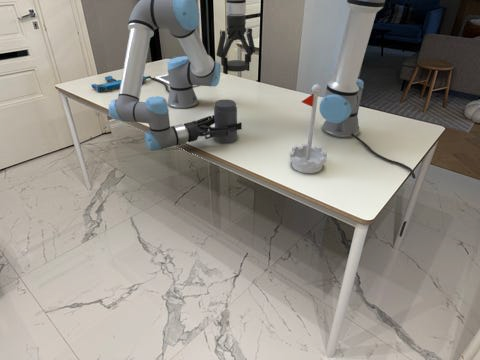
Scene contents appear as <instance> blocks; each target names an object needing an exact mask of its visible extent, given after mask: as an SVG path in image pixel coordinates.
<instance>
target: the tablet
mask: <svg viewBox="0 0 480 360" xmlns="http://www.w3.org/2000/svg"><path fill="white" fill-rule="evenodd" d="M153 78H154V79H157V80H159V81H162V82H164V83H165V84H166V85H168V86H170V83H169V75H168V73H167V74H163V75H157V76H154V77H153ZM198 86H200V85H193V88H195V87H198Z"/></svg>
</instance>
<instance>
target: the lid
mask: <svg viewBox="0 0 480 360" xmlns="http://www.w3.org/2000/svg"><path fill="white" fill-rule="evenodd" d="M227 64H228V72H234V73H235V72H237V73H238V72H245V71H247V69H248V62H246V61H245V60H240V59H239V60H238V59H232V60H227Z"/></svg>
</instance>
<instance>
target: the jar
mask: <svg viewBox="0 0 480 360" xmlns="http://www.w3.org/2000/svg"><path fill="white" fill-rule="evenodd" d="M213 105H214V107H213V115H214V127H227V126H228V125H232V124H236V123H238V106H237V103H236V101H234V100H232V99H219V100H217V101H215V102H214V104H213ZM214 140H215V141H216V142H218V143H222V144H231V143H234V142H236V141H237V140H238V130H237V131H233V132H229V136H223V137H215V138H214Z"/></svg>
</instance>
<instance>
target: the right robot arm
mask: <svg viewBox="0 0 480 360" xmlns="http://www.w3.org/2000/svg"><path fill="white" fill-rule="evenodd" d="M246 2H247V0H226V29H225V30H222V29H220V30H219V40H218V45H217V49H216V55H215V56H217V57H219V58H220V66H222V74H224V75H228V72H229V71H228V64H227V61H228V58H227V56H228V53H229V50H230V48H231V46H232V44H233V42H234V41H237V40H238V41H240V43H241V44H242V46H243V49H244V51H245V52H246V53H244V61H246V62H248V69H247V70H246V71H247V72H249V71H250V65H251V62H252V56H253V54H255V53H256V47H255V43H254V42H255V41H254V38H253V37H254V36H253V28H251V27H246V22H247V21H246V19H247V16H246V15H245V14H246V13H247V9H246V8H247V3H246ZM385 2H386V0H346V4H347V6H348V8H349V11H348V16H347V19H346V24H345V28H344V32H343V36H342V40H341V44H340V48H339V52H338V56H337V61H336V64H335V68H334V73H333V77H332V79H330V80H329V81H328V82H327V85H326V88H325V92H324V96H323V97H322V99H321V100H320V103H319V107H318V108H319V109H318V110H319V113H320V115H321V117H322V118H323V119H324V120H325V121H324V123H323V126H322V130H323V132H324V133H325V134H326V135H329V136H332V137H335V138H339V139H341V138H342V139H349V138H354V139H355V140H356V141H358V142H360V143H361V144H362V146H364V147H365V148H366V149H367V150H368V151H369V152H370V153H371V154H372V155H374V156H376V157H377V158H379V159H381V160H383V161H385V162H388V163H390V164H395V165H398V166H400V167H402V168H404V169H406V170H408V171H409V173H410V174H411V178H413V179H416V174H415V172H414V170H413V169H412V168H411V167H409V166H408V165H406V164H404V163H402V162H399V161H396V160H392V159H389V158H387V157H385V156H383V155H381V154H379V153H377V152H376V151H374V150H373V149H372V148H371V147H370V145H368V144H367V143H365V141H363V140H362V139H361V138H359V137H358V136H357V135H359V132H360V125H359V118H358V117H359V116H358V114H359V111H360V110H359V109H360V105H361V99H362V95H363V90H364V84H365V82H364V80H362V79H360V78H359V75H360V71H361V68H362V65H363V62H364V58H365V54H366V51H367V47H368V44H369V40H370V37H371V33H372V30H373V27H374V23H375V22H374V21H375V19H376V16H377V13H378V12H380V11H381V10H382V9H383V8H384V6H385ZM245 34H246V36H245ZM246 38H247V39H246ZM407 222H408V221H407V220H405V221H403V223H402V226H401V228H400V232H399V234H398V235H399V237H400V238H402V237H403V234H404V230H405V228H406V225H407Z"/></svg>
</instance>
